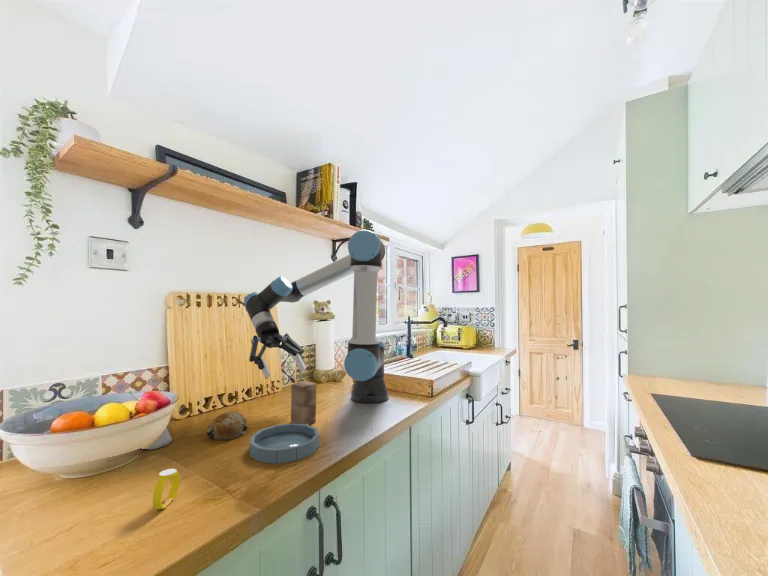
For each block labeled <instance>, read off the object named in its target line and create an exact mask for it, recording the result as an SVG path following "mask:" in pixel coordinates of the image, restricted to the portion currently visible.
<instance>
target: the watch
mask: <svg viewBox="0 0 768 576" xmlns="http://www.w3.org/2000/svg"><path fill="white" fill-rule="evenodd" d="M168 479H171V486H170V490H169V493H168V496H167V498H168V499H169V498H175V499H176V497H177V495H178V492H179V488H180V483H181V480H180V479H181V477H180V474H179V472H178V471H177V468H168V469H164V470H162V471H160V472H159V473H158V480H157V482H156V485H155V487H154V490H153V494H152V505H153V508H154V509H156V510H157V509H164V508H165V507H164V506H163V505H162V503H163V501H162V497H163V491H164V488H165V485H166V483H167V481H168ZM167 498H166V499H167Z"/></svg>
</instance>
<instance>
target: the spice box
mask: <svg viewBox="0 0 768 576" xmlns="http://www.w3.org/2000/svg"><path fill="white" fill-rule="evenodd" d="M290 404H291V405H290V424H291V423H292V424H293V423H294V424H308V425H310V424H314V423H316V422H317V420H316V419H317V415H316V414H317V412H316V411H317V383H315V382H311V381H308V380H305V381H299V382H296V383H291V399H290Z"/></svg>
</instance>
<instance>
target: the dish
mask: <svg viewBox="0 0 768 576" xmlns="http://www.w3.org/2000/svg"><path fill="white" fill-rule="evenodd" d="M249 439H250V440H249V441H250V442H249V457H250V456H251V457H250V458H252V459H254V460H255V461H257V462H258V461H259V463H267V464H284V463H291V462H296V461H300V460H302V459H304V458H307V457H309V456H312V455H313V454H314V453H315V452H316V451H317V449H319V447H320V433H319V430H318V428H317V427H314V426H312V425H310V424H308V425H307V424H294V423H291V422H290V423H284V424H282V423H281V424H274V425H273V426H268V427H265V428H263V429H259V430H258V431H257V432H255V433H254V434H253V435H251V436H250V438H249Z"/></svg>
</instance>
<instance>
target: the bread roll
mask: <svg viewBox="0 0 768 576" xmlns="http://www.w3.org/2000/svg"><path fill="white" fill-rule="evenodd" d="M247 428H248V421H247V417H245V415H244V414H243V413H240V412H238V411H226V412H223V413H221V414H219V415H218V416H216V417H215V418H213V420H212V421H211V422H210V423H209V425H208V427H207V430H206V436H209V439H212V440H215V441H216V440H217V441H226V440H233V439H236V438H237V439H238V438H240V437H242V436H245V435H246V434H247V432H246V431H247Z"/></svg>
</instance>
